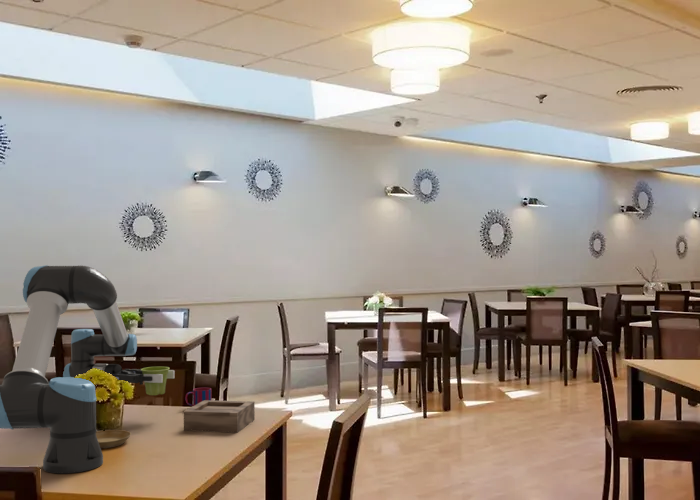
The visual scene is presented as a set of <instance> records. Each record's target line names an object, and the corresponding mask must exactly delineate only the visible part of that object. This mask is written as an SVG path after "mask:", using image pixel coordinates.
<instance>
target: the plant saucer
mask: <svg viewBox="0 0 700 500" xmlns="http://www.w3.org/2000/svg"><path fill="white" fill-rule="evenodd" d="M96 436H97V439H98V442H99V445H100V448H101V449H107V448H116V447H118V446H121V445H124V443H125V442H127V440H128V439H129V438H130V437H131V436H132V433H131V431H128V430H124V429H105V431H103V430H96Z"/></svg>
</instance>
